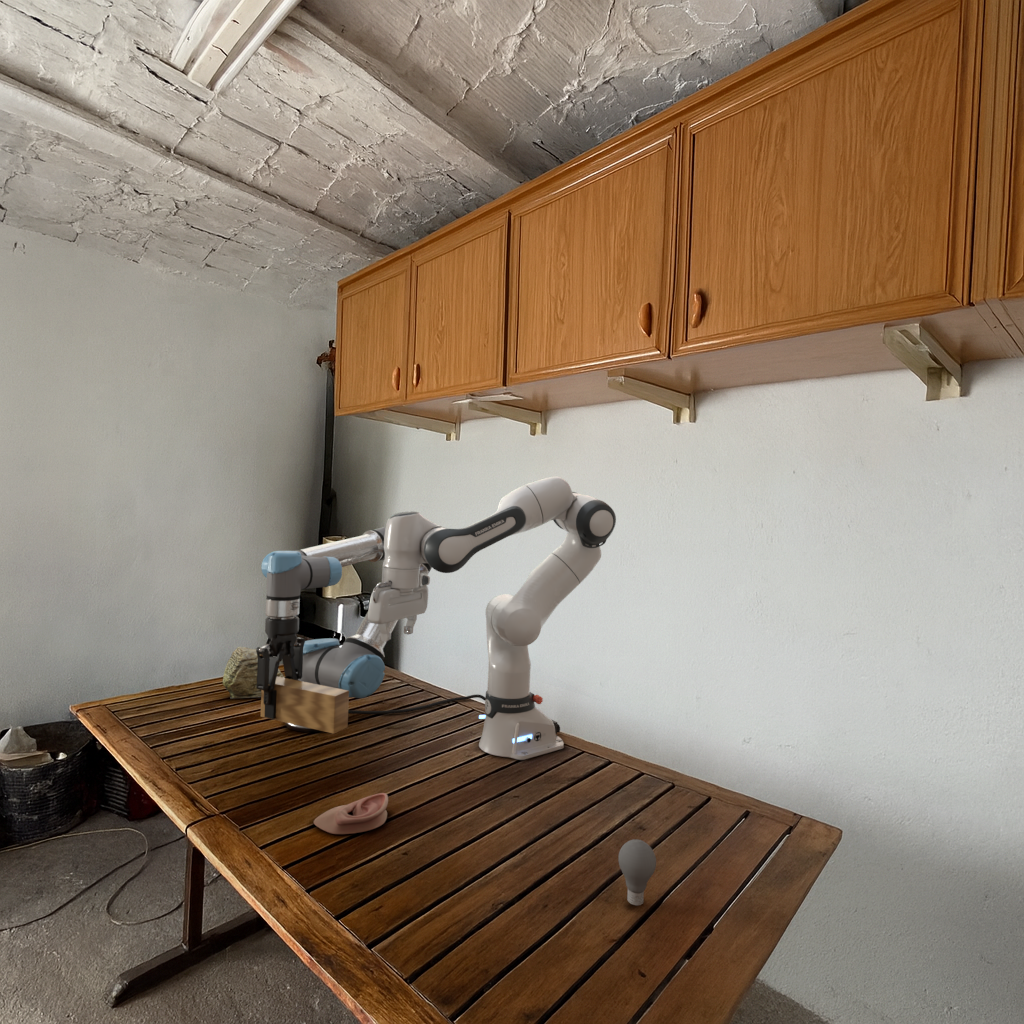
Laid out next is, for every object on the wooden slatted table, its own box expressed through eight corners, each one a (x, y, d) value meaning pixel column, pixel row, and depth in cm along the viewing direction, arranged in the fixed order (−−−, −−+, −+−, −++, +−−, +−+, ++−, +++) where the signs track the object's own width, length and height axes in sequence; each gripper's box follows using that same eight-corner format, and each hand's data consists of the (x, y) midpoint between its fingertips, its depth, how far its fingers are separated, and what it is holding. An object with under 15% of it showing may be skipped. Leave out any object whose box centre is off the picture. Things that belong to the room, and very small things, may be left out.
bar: (260, 716, 149) (261, 681, 149) (275, 710, 154) (277, 676, 154) (333, 733, 141) (335, 696, 141) (347, 727, 145) (349, 690, 145)
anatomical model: (306, 809, 120) (334, 783, 131) (305, 829, 120) (334, 802, 131) (371, 819, 117) (395, 791, 129) (370, 840, 117) (394, 811, 129)
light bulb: (612, 891, 105) (615, 832, 105) (647, 891, 106) (650, 832, 105) (621, 915, 99) (624, 852, 99) (659, 914, 100) (662, 852, 99)
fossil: (218, 695, 195) (220, 647, 195) (278, 685, 208) (279, 640, 207) (228, 703, 189) (230, 653, 188) (289, 692, 201) (290, 645, 201)
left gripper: (265, 624, 140) (262, 728, 141) (320, 612, 157) (317, 706, 157) (240, 620, 143) (237, 722, 144) (297, 609, 160) (293, 701, 160)
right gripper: (386, 584, 140) (382, 647, 140) (433, 577, 159) (430, 632, 159) (362, 581, 142) (359, 643, 143) (412, 574, 161) (409, 628, 161)
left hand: (279, 713), depth 150 cm, fingers closed on bar, 5 cm apart
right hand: (397, 637), depth 151 cm, fingers open, 8 cm apart
